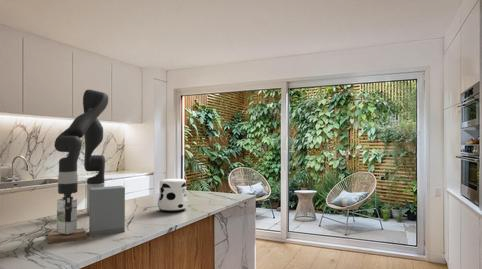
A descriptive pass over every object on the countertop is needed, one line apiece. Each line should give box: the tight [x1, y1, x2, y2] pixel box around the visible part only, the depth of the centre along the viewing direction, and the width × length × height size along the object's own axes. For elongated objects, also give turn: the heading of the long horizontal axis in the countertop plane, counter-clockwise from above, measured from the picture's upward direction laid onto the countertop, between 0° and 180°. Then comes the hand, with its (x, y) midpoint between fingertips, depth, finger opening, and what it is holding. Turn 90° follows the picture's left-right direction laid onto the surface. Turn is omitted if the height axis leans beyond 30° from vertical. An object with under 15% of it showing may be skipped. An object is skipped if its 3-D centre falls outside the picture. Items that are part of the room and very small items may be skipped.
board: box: [48, 227, 88, 244], centre depth 142 cm, size 14×14×1 cm
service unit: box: [88, 185, 126, 237], centre depth 150 cm, size 9×14×20 cm, turn 120°
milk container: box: [157, 178, 188, 213], centre depth 197 cm, size 17×17×18 cm
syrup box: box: [56, 197, 78, 234], centre depth 142 cm, size 6×6×14 cm
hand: (67, 219), depth 142 cm, fingers closed on syrup box, 8 cm apart
